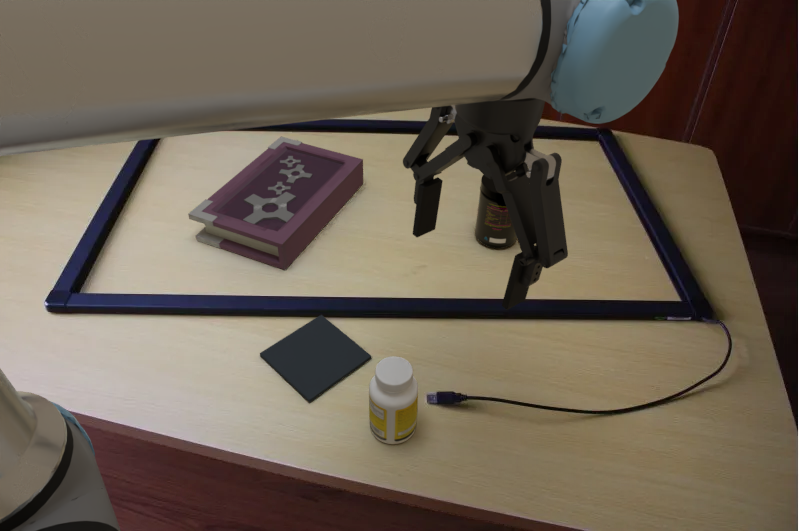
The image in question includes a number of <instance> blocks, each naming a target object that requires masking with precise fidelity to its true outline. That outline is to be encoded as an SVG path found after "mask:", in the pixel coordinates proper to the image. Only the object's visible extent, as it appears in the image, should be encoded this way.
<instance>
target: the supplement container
mask: <svg viewBox="0 0 799 531" xmlns="http://www.w3.org/2000/svg"><path fill="white" fill-rule="evenodd" d="M515 177H516V173H515V171H513V172H512V173H510V174H509V175H506V178H507V180H508V181H509V180H511V179H513V178H515ZM480 181H481V182H480V186H479V198H478V204H477V211H476V219H475V228H474V235H475V238H476V239H477V241H478V242H479V243H481V244H482V245H483V246H485V247H488V248H491V249H497V250H498V249H507V248H509V247H511V246H513V245H514V244H515V242H516V241H517V240H518V239H517V236H516V233H515V230H514V227H513V225H512V222H511V219H510V216H509V213H508V210H507V207H506V204H505V201H504V198H503V195H502V194H501V193H498V192H497V190H496V188H495V185H494V182H493V179H491V180H490V179H489V178H487V177H486V176H484V174H482V175H481V180H480Z"/></svg>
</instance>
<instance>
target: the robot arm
mask: <svg viewBox="0 0 799 531" xmlns="http://www.w3.org/2000/svg"><path fill="white" fill-rule="evenodd" d="M679 18H680V15H679V6H678V2H677V0H0V157H3V156H4V157H5V156H13V155H21V154H31V153H40V152H48V151H57V150H58V151H59V150H67V149H76V148H77V149H78V148H84V147H85V148H86V147H93V146H101V145H112V144H120V143H128V142H130V143H131V142H138V141H146V140H154V139H155V140H157V139H163V138H164V139H165V138H174V137H182V136H191V135H200V134H209V133H217V132H218V133H219V132H226V131H235V130H237V131H238V130H245V129H253V128H263V127H270V126H271V127H272V126H281V125H289V124H298V123H307V122H315V121H326V120H333V119H342V118H351V117H361V116H369V115H378V114H387V113H396V112H405V111H414V110H423V109H431V110H430V114H429V119H427V121H426V123H425V124H424V126H423V127H422V129H421V130H420V132H419V134H418V135H417V137H416V138H415V139H414V141H413V143H412V145H411V146H410V148H409V149H408V151H407V152H406V154H405V156H403V159H402V165H403V167H404V168H405V169H407V170H409V169H410V170H411V171H412V172H413V173H412V177H413V179H414V181H415V183H414V191H413V192H414V193H413V203H414V204H415V212H414V220H413V226H412V227H413V228H412V236H414V237H415V238H419V237H422V236H424V235H426V234H428V233H430V232H433V231H435V230H436V225H437V220H438V215H439V214H438V212H439V207H440V200H441V193H442V187H443V179H441V178H440V177H438V175H440V174H442V173H443V171H445V170H447V169H448V168H450V167H451V166H453V165H454V164H456V163H457V162H459V161H461V160H462V159H463V158H464V159H465V160H466V165H468V166H469V167H471V168H472V169H475V170H479V171H480V172H481V174H482V175H484V176H486V177H487V178H489V179H490V180H491V179H493V182H494V185H495V188H496V190H497V192H498V193H501V194H502V195H503V198H504V201H505V204H506V207H507V210H508V213H509V216H510V219H511V222H512V225H513V227H514V230H515V233H516V236H517V239H516V240H517V243H518V245H519V248H520V250H521V251H520V252H519V253H516V254H515V255H514V257H513V262H512V264H511V270H510V273H509V277H508V280H507V283H506V284H507V285H506V288H505V292H504V295H503V299H502V303H501V307H503V308H504V309H505V310H506V311H508V310H510V309H512V308H514V307H516V305H518V304H520V303H523V302H524V301H525V300H526V298H527V295H528V292H529V289H530V287H531V286H532V285H534V284H536V283H537V282H538V281H539V280H540V277H541V275H542V271H543V268H544V269H549V268H551V267H553V266H555V265H557V264H558V263H560V262H562V261H564V260H565V259H567V258H568V256H569V251H568V243H567V236H566V227H565V221H564V220H565V219H564V211H563V205H562V196H561V195H562V194H561V188H560V180H559V179H560V173H561V169H562V168H561V167H562V163H563V162H562V160H563V159H562V156H561V155H560V154H559V153H558V152H552V153H550V154H545V153H544V152H541V151H538V150H536V149H535V147H534V135H535V132H536V130H537V129H538V127H539V125H540V122H541V120H542V116H543V112H544V108H545V104H546V103H548V104H549V105H551V108H553V109H554V110H555V111H557V112H558V113H560V114H568V115H570V116H572V117H574V118H576V119H579V120H581V121H584V122H586V123H590V124H594V125H595V124H599V125H601V124H606V123H610V122H612V121H615V120H617V119H619V118H621V117H623V116H624V115H626V114H628V113H629V112H631V111H632V110H633V109H634V108H635V107H637V106H638V105H639V104H640V103H641V102H642V101H643V100H644V99H645V98H646V97H647V95H648V94H649V93H650V92H651V91H652V89H653V88H654V86H655V85H656V83H657V82H658V81H659V79H660V77H661V76H662V74H663V72H664V71H665V68H666V65H667V62H668V60H669V57H670V55H671V52H672V51H673V48H674V46H675V44H676V39H677V36H678V30H679V21H680V20H679ZM453 125H454V126H455V130H456V134H457V137H458V138H457V139H456V140H455V141H454V142H452V143H451V144H450V145H448V146H446V147H445V148H444V150H443V151H441V152H440V153H438V154H437V155H436V156H434V157H432V158H431V156H432V155H433V153H434V151H435V150H436V149H437V148H438V146H439V145H440V143H441V141H443V139H444V137H445V136H446V134H447V133H448V132H449V130H450V129H451V127H452V126H453ZM430 158H431V159H430ZM429 159H430V160H429ZM513 171H515V173H516V177H515V178H513V179H511V180H509V181H508V180H507V178H506V175H509V174H510V173H512V172H513ZM435 176H437V177H435ZM97 463H98V462H97V460H96V451H95V449H94V444H93V442H92V440H91V438H90V436H89V434H88V433H87V431H86V430H85V428H84V427H83V426H82V425H81V423H80V422H79V421H78V419H77V418H76V417H75V416H74V414H72V413H71V412H70V411H69V410H68V409H67V408H65V407H63V406H62V405H61V404H58V403H55V402H54V401H50V400H49V399H47V398H46V397H43V396H41V395H40V394H37V393H33V392H28V391H21V390H16V388H15V386H14V385H13V384H12V382H11V381H10V380H9V378H8V377H7V376H6V374H5V373H4V371H3V370H2V369H1V368H0V531H122V530H121V527H120V525H119V522H118V519H117V516H116V513H115V511H114V508H113V505H112V502H111V499H110V496H109V494H108V491H107V488H106V484H105V482H104V479H103V477H102V474H101V471H100V468H99V466H98V464H97Z"/></svg>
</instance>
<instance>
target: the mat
mask: <svg viewBox="0 0 799 531" xmlns="http://www.w3.org/2000/svg"><path fill="white" fill-rule="evenodd" d="M259 356H260V357H261V358H262V360H264V361H265V362H266V363H267V364H268V365H269V366H270V367H271V368H272V369H273V370H274V371H275V372H276V373H277V374H278V375H279V376H280V377H281V378H283V380H284V381H286V382H287V383H288V384H289V385H290V386H291V388H293V389H294V390H295V391H296V392H297V393H299V395H300V396H302V398H304V399H305V400H306V401H307V402H308V403H309V404H310V403H312V402H313V401H314V400H316V399H317V398H319V397H320V396H322V395H323V394H324V393H326V392H327V391H328V390H330V389H332V388H333V387H334V386H335V385H337V384H339V383H340V382H341V381H342V380H344V379H345V378H347V377H348V376H349V375H351V374H353V373H354V372H355V371H356V370H358V369H359V368H361V367H362V366H363V365H365V364H366V363H368V362H369V361H371V360H372V354H370V353H369V352H368V351H367V350H365V349H364V348H362V347H361V345H359V344H358V343H357V342H356V341H354V340H353V339H352V338H350V337H349V336H348V334H346V333H345V332H343V331H342V330H341V329H340V328H338V327H337V326H336V325H335V324H333V322H331V321H330V320H329V319H327V318H326V317H325V316H324V315H323V314H320V315H318V316H316V317H315V318H313V319H312V320H310V321H309V322H306V324H304V325H302V326H301V327H298V328H297V329H296V330H294V331H293V332H292V333H289V334H288V335H286V336H285V337H283V338H281V339H279V340H278V341H277V342H275V343H274V344H272V345H271V346H269V347H267V348H266V349H264V350H263V351H261V352H259Z"/></svg>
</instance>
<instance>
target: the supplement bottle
mask: <svg viewBox="0 0 799 531" xmlns="http://www.w3.org/2000/svg"><path fill="white" fill-rule="evenodd" d="M368 385H369V386H368V409H369V411H368V412H369V413H368V414H369V415H368V416H369V417H368V418H369V420H368V421H369V429H370V432H371V434H372V435H373V436H374V438H375V439H377V440H378V441H380V442H382V443H385V444H388V445H398V444H401V443H404V442H406V441H408V440H409V439H410V438H412V436H413V435H414V433H415V431H416V429H417V420H418V404H419V403H418V402H419V384H418V380H417V379H416V377H415V376H414V369H413V365H412V364H411V363H410V361H409V360H407V359H406V358H404V357H401V356H397V355H392V356H386V357H384V358H382V359H380V360H379V362H377V364H376V366H375V371H374V375H373V376H372V378H371V379H370V382H369V384H368Z"/></svg>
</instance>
